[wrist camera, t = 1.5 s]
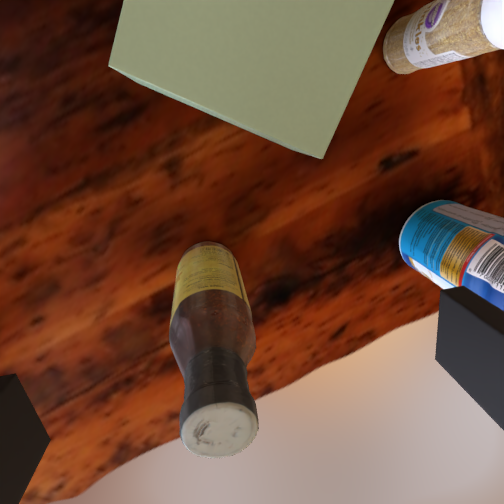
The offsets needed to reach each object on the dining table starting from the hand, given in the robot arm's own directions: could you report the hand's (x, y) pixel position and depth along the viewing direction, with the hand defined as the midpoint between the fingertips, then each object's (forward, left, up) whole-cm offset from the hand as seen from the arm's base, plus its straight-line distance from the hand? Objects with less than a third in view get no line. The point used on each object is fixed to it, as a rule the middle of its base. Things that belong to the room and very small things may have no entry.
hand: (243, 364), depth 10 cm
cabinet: (-10, +12, -24) cm, 28 cm away
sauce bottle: (+5, -5, -24) cm, 25 cm away
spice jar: (0, +22, -24) cm, 32 cm away
